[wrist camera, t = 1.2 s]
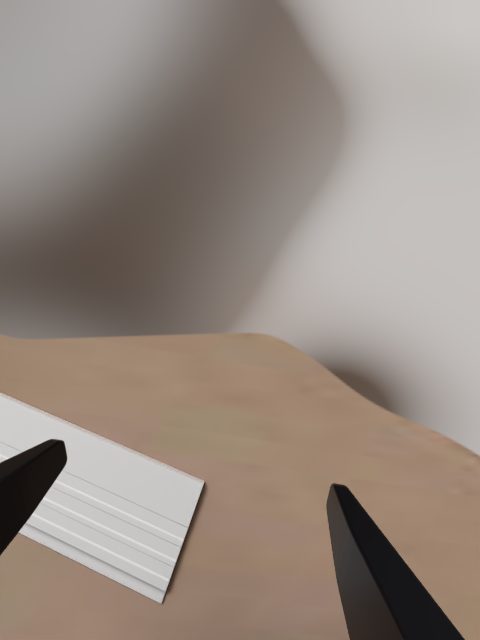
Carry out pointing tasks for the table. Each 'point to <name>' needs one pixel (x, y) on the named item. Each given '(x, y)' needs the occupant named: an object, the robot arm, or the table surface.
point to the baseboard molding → (105, 501)
